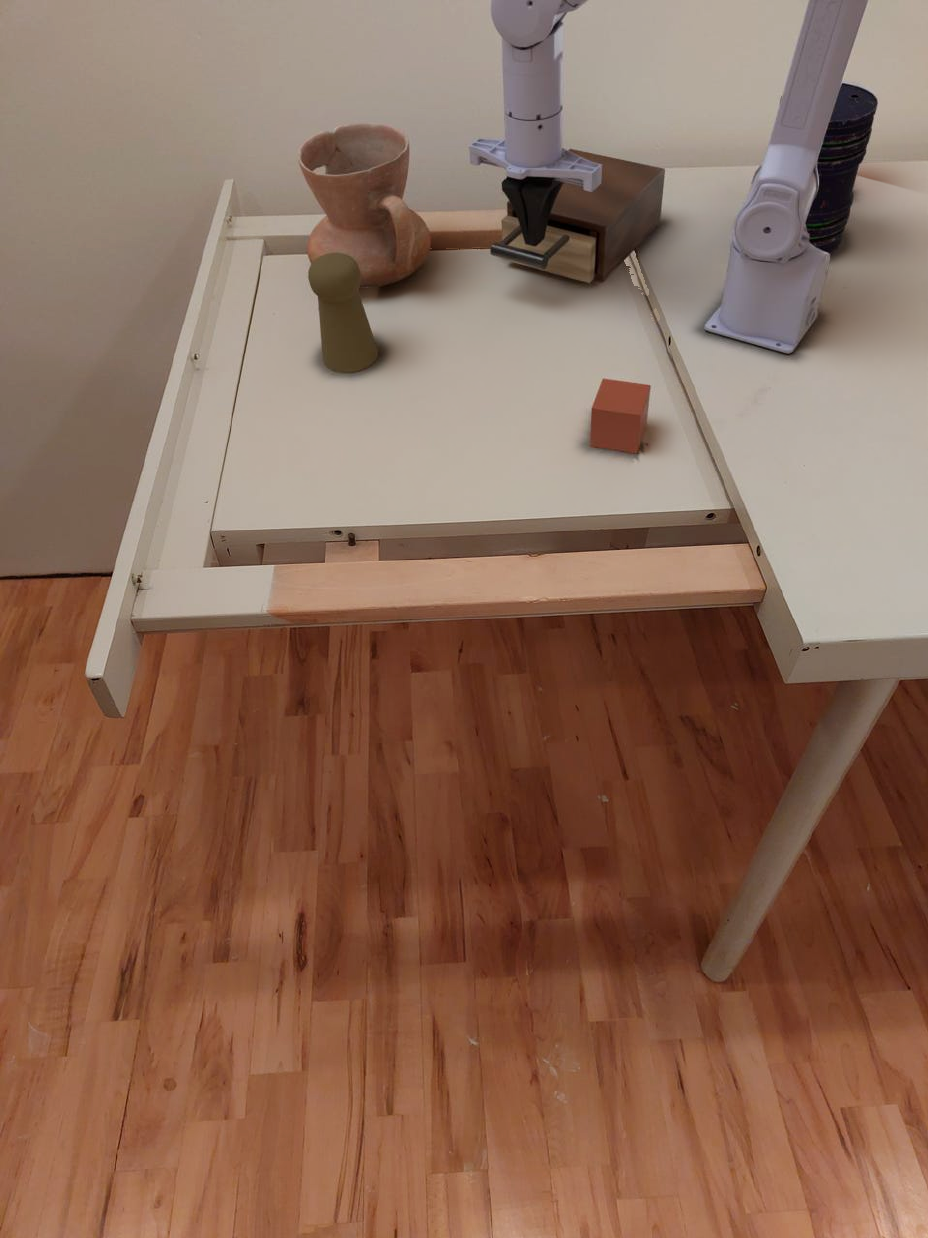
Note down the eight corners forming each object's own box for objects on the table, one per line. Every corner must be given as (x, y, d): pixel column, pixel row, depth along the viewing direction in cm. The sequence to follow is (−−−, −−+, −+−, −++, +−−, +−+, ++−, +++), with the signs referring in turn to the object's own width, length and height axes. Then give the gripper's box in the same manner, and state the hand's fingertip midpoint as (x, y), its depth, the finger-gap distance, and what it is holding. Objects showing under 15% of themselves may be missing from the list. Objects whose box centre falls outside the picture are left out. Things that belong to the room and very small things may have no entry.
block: (646, 423, 86) (650, 384, 83) (637, 453, 84) (640, 415, 80) (600, 416, 87) (602, 377, 84) (589, 446, 85) (591, 407, 81)
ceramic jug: (288, 260, 110) (259, 139, 99) (390, 221, 114) (374, 101, 103) (357, 326, 100) (333, 200, 89) (466, 281, 104) (457, 155, 93)
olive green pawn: (370, 374, 94) (352, 278, 86) (315, 370, 95) (292, 275, 87) (384, 340, 98) (369, 244, 89) (331, 337, 99) (311, 242, 90)
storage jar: (774, 267, 101) (803, 127, 90) (740, 225, 107) (763, 90, 96) (858, 251, 102) (897, 111, 90) (819, 211, 108) (851, 75, 97)
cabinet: (603, 282, 102) (606, 226, 97) (508, 256, 107) (506, 201, 102) (660, 223, 109) (665, 168, 104) (569, 201, 114) (570, 148, 109)
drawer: (561, 311, 97) (562, 264, 93) (473, 285, 102) (470, 240, 98) (643, 227, 107) (647, 182, 103) (560, 207, 112) (560, 163, 107)
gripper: (448, 111, 88) (459, 242, 99) (578, 138, 83) (575, 274, 93) (487, 83, 92) (493, 213, 102) (614, 108, 86) (607, 243, 97)
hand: (534, 241), depth 98 cm, fingers closed
